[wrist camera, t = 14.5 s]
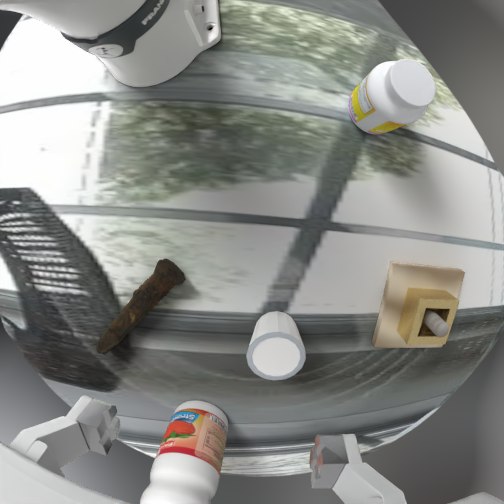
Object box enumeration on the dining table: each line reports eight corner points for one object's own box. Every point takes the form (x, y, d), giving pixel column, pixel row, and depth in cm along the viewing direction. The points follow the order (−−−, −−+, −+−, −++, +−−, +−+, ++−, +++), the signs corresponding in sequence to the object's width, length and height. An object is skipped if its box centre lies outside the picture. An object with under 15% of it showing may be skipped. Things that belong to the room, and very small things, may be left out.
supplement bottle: (404, 110, 33) (455, 87, 20) (377, 145, 34) (424, 133, 22) (364, 75, 32) (402, 36, 20) (335, 110, 33) (366, 79, 21)
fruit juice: (212, 442, 47) (182, 576, 20) (166, 419, 46) (112, 550, 19) (240, 416, 45) (216, 570, 18) (189, 389, 44) (132, 542, 17)
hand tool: (168, 253, 39) (155, 262, 35) (189, 275, 40) (179, 287, 35) (95, 329, 43) (80, 343, 39) (112, 347, 44) (99, 362, 39)
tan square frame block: (408, 287, 36) (420, 298, 33) (445, 289, 36) (459, 300, 32) (396, 330, 38) (407, 344, 34) (433, 331, 38) (445, 344, 34)
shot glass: (263, 298, 40) (261, 322, 33) (310, 318, 40) (316, 345, 33) (242, 339, 41) (236, 368, 34) (286, 357, 42) (288, 388, 35)
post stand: (390, 261, 37) (417, 282, 29) (459, 269, 37) (492, 288, 29) (371, 342, 40) (389, 375, 32) (438, 342, 40) (463, 371, 32)
